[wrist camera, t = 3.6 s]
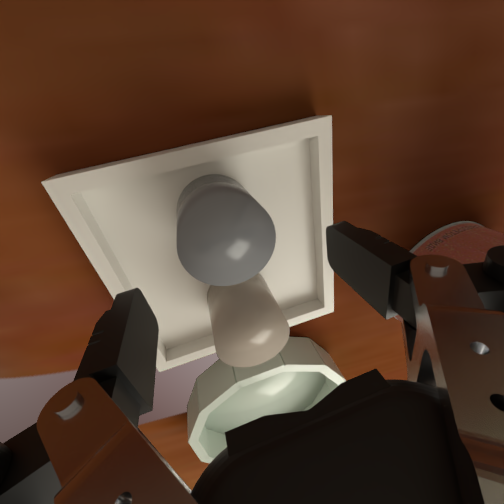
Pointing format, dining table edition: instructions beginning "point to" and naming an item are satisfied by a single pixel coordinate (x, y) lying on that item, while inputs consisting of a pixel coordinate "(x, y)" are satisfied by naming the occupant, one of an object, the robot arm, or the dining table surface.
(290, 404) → the bowl
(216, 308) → the grey-brown stone
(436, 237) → the canned food
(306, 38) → the dining table surface
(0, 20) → the dining table surface
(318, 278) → the tray
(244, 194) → the grey river pebble
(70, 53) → the dining table surface
